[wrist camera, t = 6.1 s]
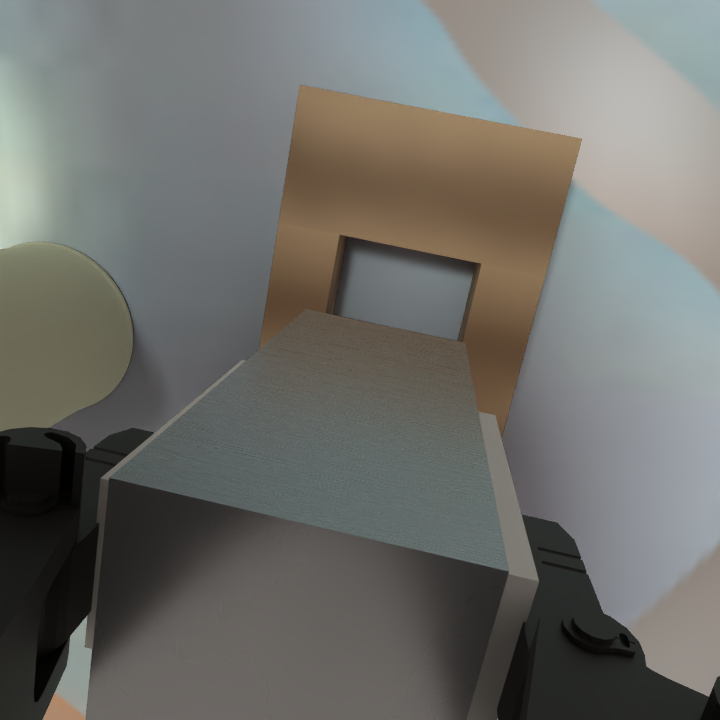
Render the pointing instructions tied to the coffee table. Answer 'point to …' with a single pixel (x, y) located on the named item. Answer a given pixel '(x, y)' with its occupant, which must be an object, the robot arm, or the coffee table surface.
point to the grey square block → (306, 540)
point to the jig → (423, 215)
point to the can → (57, 334)
